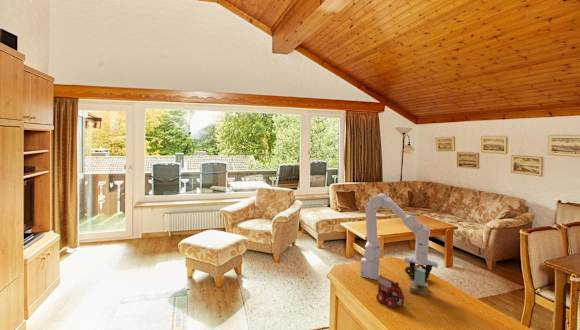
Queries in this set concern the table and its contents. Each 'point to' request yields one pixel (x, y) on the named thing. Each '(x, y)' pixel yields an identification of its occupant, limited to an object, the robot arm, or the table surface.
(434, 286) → the table surface
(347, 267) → the table surface
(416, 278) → the teal block
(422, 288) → the pale grey flat block
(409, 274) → the dark headphones
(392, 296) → the toy fire truck
